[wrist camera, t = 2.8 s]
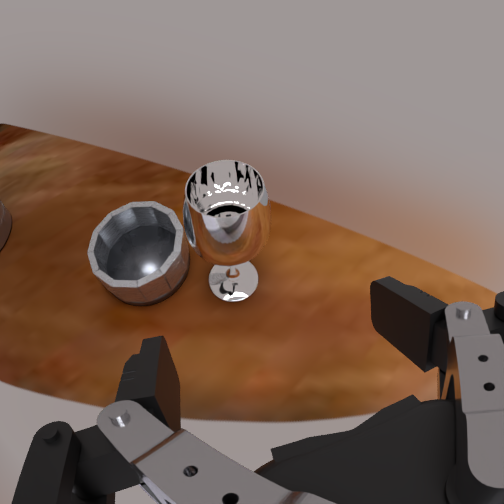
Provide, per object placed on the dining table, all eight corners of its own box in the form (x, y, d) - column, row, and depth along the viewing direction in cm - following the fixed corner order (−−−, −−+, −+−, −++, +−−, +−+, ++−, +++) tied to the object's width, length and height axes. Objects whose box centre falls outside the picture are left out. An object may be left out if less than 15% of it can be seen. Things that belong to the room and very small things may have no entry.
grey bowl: (121, 321, 26) (103, 304, 23) (96, 250, 30) (80, 227, 27) (205, 279, 29) (199, 256, 25) (169, 214, 32) (161, 188, 29)
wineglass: (236, 240, 31) (229, 142, 21) (279, 280, 29) (294, 188, 18) (188, 277, 29) (157, 186, 18) (230, 322, 27) (217, 246, 16)
